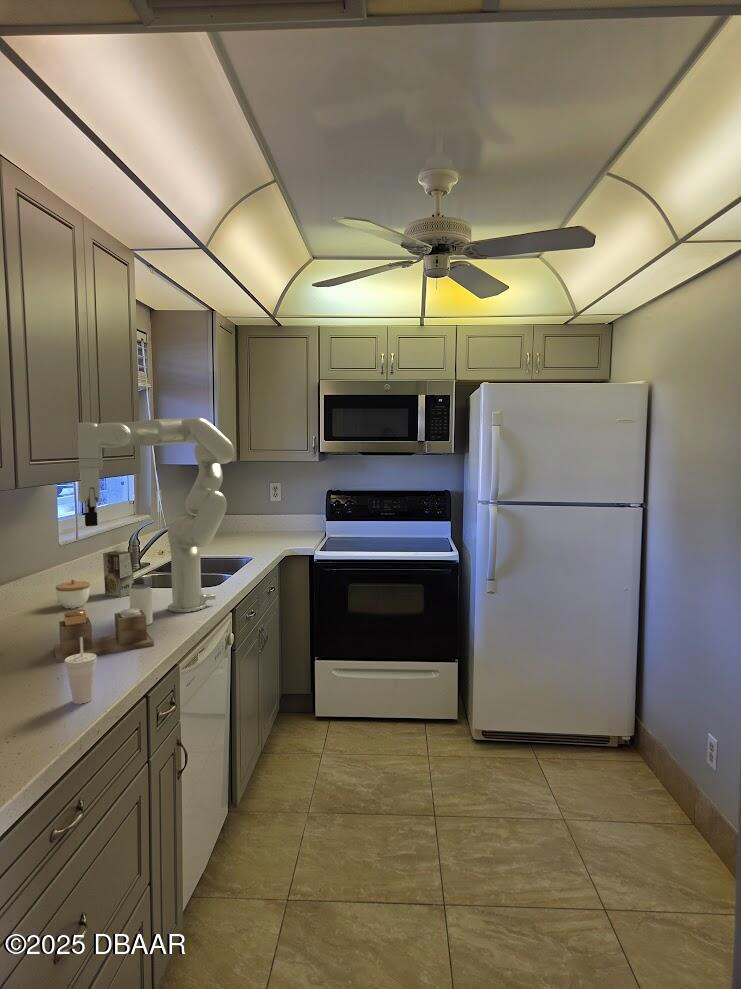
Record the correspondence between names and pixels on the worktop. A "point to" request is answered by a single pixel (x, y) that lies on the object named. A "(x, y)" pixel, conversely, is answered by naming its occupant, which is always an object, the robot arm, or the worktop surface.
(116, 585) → the coffee box
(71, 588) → the lidded jar
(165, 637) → the worktop surface
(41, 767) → the worktop surface
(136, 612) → the pale plunger
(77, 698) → the smoothie
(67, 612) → the copper plunger
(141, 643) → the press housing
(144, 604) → the can
